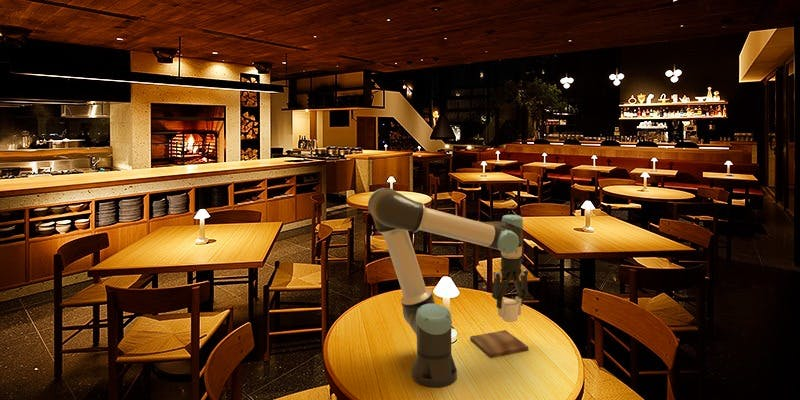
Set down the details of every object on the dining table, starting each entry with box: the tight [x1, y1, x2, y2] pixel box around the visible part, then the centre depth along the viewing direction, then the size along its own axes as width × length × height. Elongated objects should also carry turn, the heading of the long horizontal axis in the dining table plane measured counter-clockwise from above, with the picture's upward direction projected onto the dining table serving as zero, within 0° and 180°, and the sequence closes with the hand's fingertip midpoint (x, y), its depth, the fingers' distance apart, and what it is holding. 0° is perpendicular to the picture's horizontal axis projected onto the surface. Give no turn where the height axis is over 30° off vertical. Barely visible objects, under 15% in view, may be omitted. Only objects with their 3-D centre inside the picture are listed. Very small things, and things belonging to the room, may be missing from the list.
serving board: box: [469, 329, 529, 359], centre depth 180 cm, size 16×16×2 cm
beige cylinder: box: [501, 298, 519, 323], centre depth 178 cm, size 7×7×7 cm
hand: (509, 314), depth 178 cm, fingers closed on beige cylinder, 7 cm apart
